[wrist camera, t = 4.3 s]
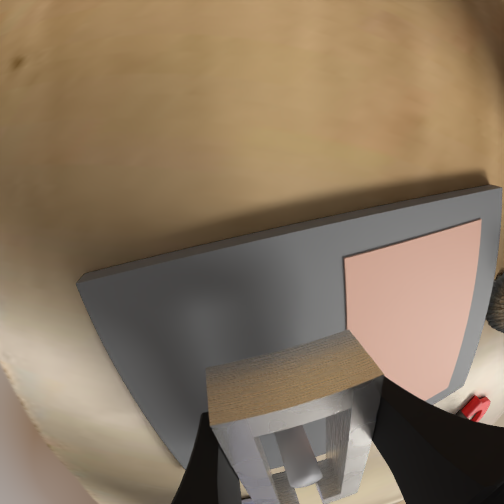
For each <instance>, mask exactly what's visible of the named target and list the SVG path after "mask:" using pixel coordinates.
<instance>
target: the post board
mask: <svg viewBox="0 0 504 504" xmlns="http://www.w3.org/2000/svg"><path fill="white" fill-rule="evenodd" d="M501 213H502V187H498V186H494V185H485V186H480V187H474V188H469V189H463V190H458V191H453V192H447V193H442V194H437V195H432V196H427V197H422V198H417V199H411V200H406V201H401V202H396V203H392V204H387V205H382V206H377V207H372V208H367V209H362V210H357V211H353V212H348V213H343V214H338V215H334V216H329V217H324V218H320V219H315V220H310V221H306V222H301V223H297V224H292V225H288V226H283V227H278V228H274V229H269V230H265V231H261V232H256V233H252V234H247V235H243V236H239V237H234V238H230V239H225V240H221V241H217V242H212V243H208V244H204V245H200V246H195V247H191V248H187V249H183V250H179V251H174V252H170V253H166V254H162V255H158V256H154V257H150V258H145V259H141V260H137V261H133V262H129V263H125V264H121V265H117V266H113V267H109V268H105V269H101V270H97V271H93V272H89V273H85V274H84V275H83V276H82V277H81V278H80V279H79V280H78V282H77V283H76V286H77V288H78V291H79V293H80V295H81V298H82V300H83V302H84V305H85V307H86V309H87V312H88V314H89V316H90V318H91V320H92V322H93V325H94V327H95V329H96V331H97V333H98V335H99V337H100V339H101V341H102V343H103V345H104V347H105V349H106V351H107V353H108V355H109V356H110V358H111V360H112V362H113V364H114V366H115V367H116V369H117V371H118V373H119V374H120V376H121V378H122V380H123V381H124V383H125V385H126V386H127V388H128V390H129V391H130V393H131V395H132V396H133V398H134V399H135V401H136V403H137V404H138V406H139V407H140V409H141V410H142V412H143V413H144V415H145V416H146V418H147V419H148V421H149V422H150V424H151V425H152V427H153V428H154V430H155V431H156V432H157V434H158V435H159V437H160V438H161V439H162V441H163V442H164V443H165V445H166V446H167V447H168V449H169V450H170V451H171V453H172V454H173V455H174V456H175V458H176V459H177V460H178V461H179V463H180V464H181V465H182V466H183V468H184V469H185V470H186V468H187V465H188V463H189V459H190V456H191V453H192V450H193V447H194V443H195V439H196V435H197V431H198V427H199V422H200V416H201V414H202V413H203V412H209V410H208V397H207V383H206V368H207V367H212V366H216V365H221V364H226V363H230V362H235V361H239V360H243V359H248V358H252V357H256V356H260V355H264V354H268V353H271V352H275V351H279V350H283V349H286V348H290V347H293V346H297V345H300V344H304V343H307V342H311V341H314V340H317V339H321V338H324V337H327V336H330V335H333V334H336V333H339V332H342V331H345V330H348V329H349V330H350V331H351V333H352V334H353V335H354V336H355V338H356V339H357V340H358V341H359V343H360V344H361V345H362V347H363V348H364V349H365V350H366V352H367V353H368V354H369V355H370V357H371V358H372V359H373V360H374V362H375V363H376V364H377V366H378V367H379V368H380V369H381V371H382V372H383V373H384V376H385V377H387V378H388V379H390V380H391V381H393V382H394V383H396V384H397V385H399V386H400V387H402V388H403V389H405V390H407V391H408V392H410V393H412V394H413V395H415V396H417V397H418V398H420V399H422V400H424V401H426V402H427V403H429V404H431V405H433V404H435V403H437V402H438V401H440V400H442V399H443V398H445V397H447V396H448V395H450V394H451V393H453V392H455V391H456V390H458V389H459V388H461V387H462V386H464V383H465V381H466V378H467V376H468V373H469V370H470V367H471V365H472V362H473V359H474V356H475V353H476V350H477V346H478V343H479V340H480V336H481V333H482V329H483V326H484V322H485V318H486V314H487V310H488V306H489V301H490V297H491V292H492V287H493V281H494V276H495V270H496V263H497V256H498V248H499V239H500V228H501ZM259 438H260V441H261V444H262V447H263V450H264V453H265V456H266V458H267V461H268V464H269V467H270V469H274V468H278V467H282V466H284V467H285V470H286V474H287V477H288V480H289V483H290V486H291V487H293V488H301V487H306V486H309V485H312V484H314V483H316V482H318V481H319V480H320V479H321V478H322V476H323V475H322V473H321V470H320V468H319V465H318V463H317V460H316V458H315V457H316V456H319V455H322V454H325V453H326V417H324V418H322V419H318V420H315V421H312V422H309V423H306V424H303V425H299V426H296V427H292V428H289V429H285V430H281V431H278V432H274V433H270V434H266V435H262V436H259Z"/></svg>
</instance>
